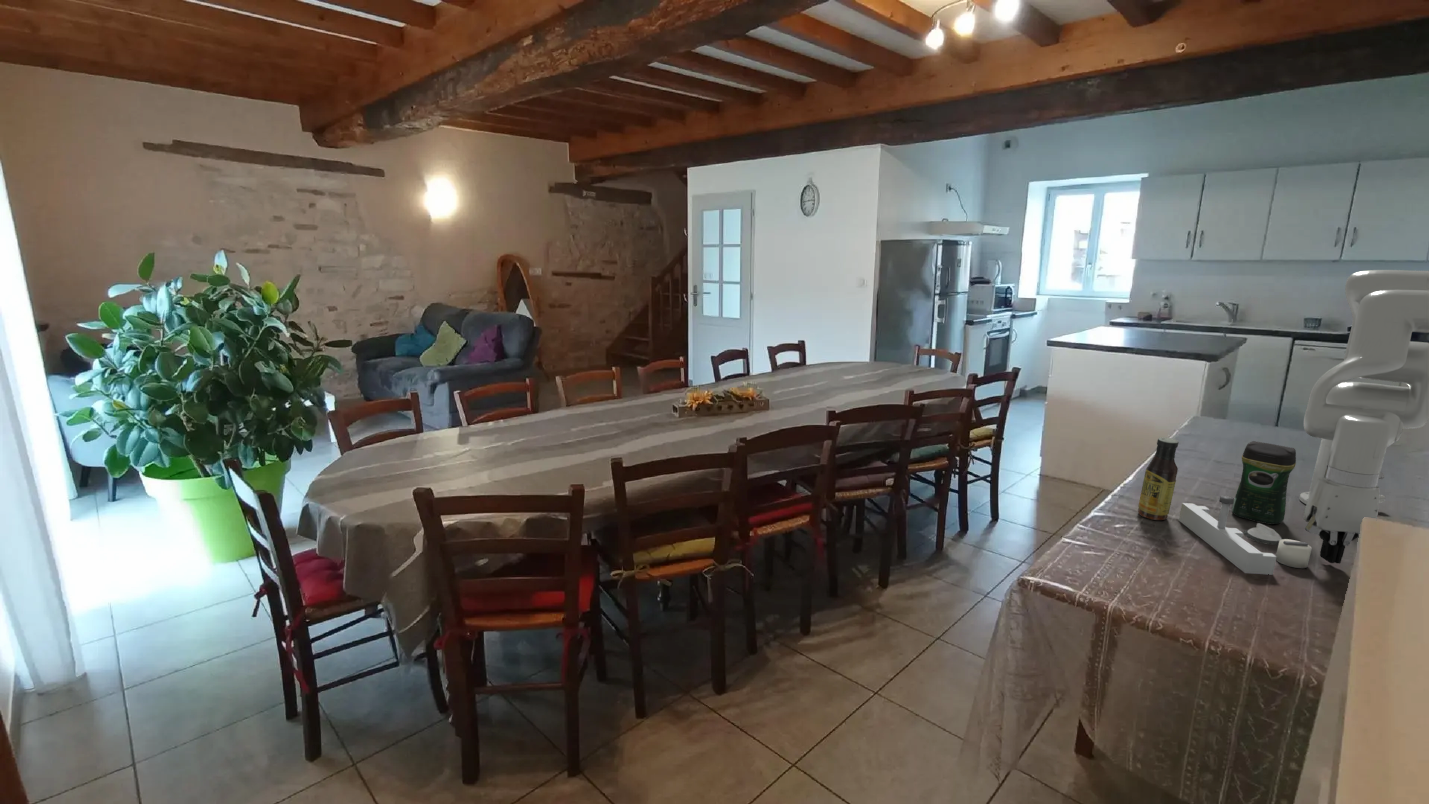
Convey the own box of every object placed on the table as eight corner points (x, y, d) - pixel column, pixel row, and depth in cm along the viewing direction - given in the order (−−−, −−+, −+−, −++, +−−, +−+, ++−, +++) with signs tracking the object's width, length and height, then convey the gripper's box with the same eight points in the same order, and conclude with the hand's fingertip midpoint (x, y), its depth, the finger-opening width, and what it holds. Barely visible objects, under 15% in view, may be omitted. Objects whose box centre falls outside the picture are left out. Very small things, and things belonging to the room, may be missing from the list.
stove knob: (1264, 531, 147) (1266, 519, 146) (1293, 545, 140) (1296, 533, 139) (1234, 532, 146) (1236, 520, 146) (1262, 547, 139) (1265, 534, 139)
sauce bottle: (1131, 511, 157) (1143, 435, 152) (1154, 510, 158) (1167, 434, 153) (1150, 523, 151) (1164, 443, 146) (1175, 521, 151) (1189, 442, 146)
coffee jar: (1286, 519, 152) (1303, 445, 147) (1278, 528, 147) (1295, 453, 142) (1235, 506, 159) (1250, 436, 154) (1226, 515, 154) (1241, 443, 150)
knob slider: (1296, 557, 134) (1300, 537, 133) (1313, 569, 129) (1318, 549, 128) (1269, 555, 135) (1274, 536, 134) (1285, 567, 130) (1290, 547, 129)
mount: (1201, 521, 151) (1210, 476, 148) (1272, 574, 127) (1284, 522, 124) (1178, 520, 152) (1187, 475, 149) (1244, 572, 128) (1256, 520, 125)
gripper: (1378, 471, 128) (1356, 553, 133) (1294, 468, 131) (1276, 549, 135) (1411, 485, 121) (1387, 571, 126) (1322, 481, 124) (1301, 566, 128)
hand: (1329, 559), depth 130 cm, fingers closed
